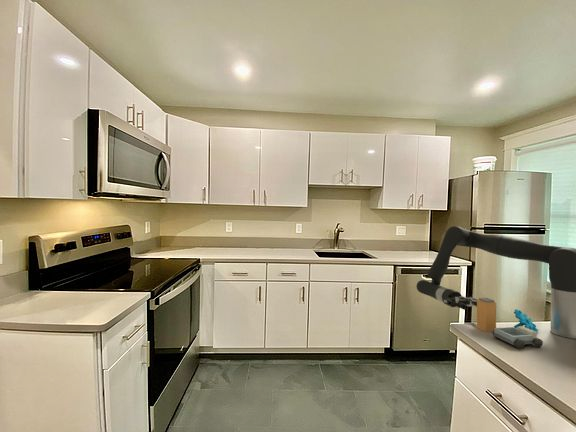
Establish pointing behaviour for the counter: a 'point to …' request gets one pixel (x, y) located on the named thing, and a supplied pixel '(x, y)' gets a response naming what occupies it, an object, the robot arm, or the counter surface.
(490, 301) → the orange tower grey cap
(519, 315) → the gear
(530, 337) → the truck
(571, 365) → the counter surface
